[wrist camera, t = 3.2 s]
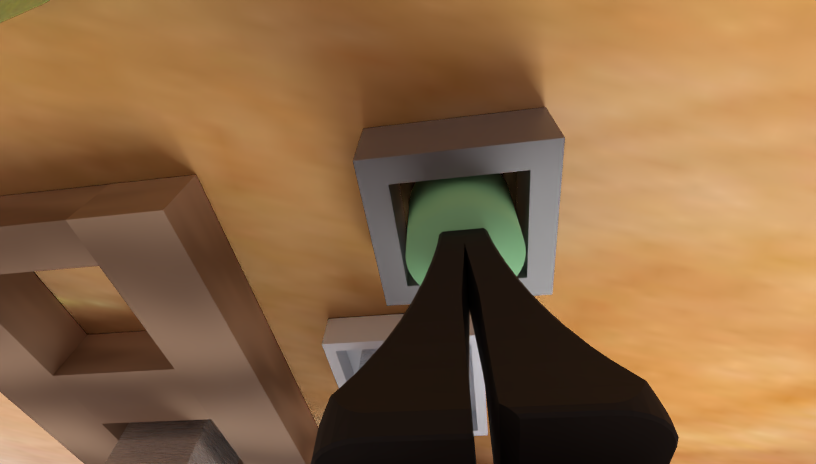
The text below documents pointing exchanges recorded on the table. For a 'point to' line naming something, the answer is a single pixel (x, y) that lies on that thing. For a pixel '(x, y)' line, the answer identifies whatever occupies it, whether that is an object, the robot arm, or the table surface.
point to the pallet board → (159, 314)
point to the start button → (462, 218)
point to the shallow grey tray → (370, 333)
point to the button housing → (460, 157)
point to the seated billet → (173, 444)
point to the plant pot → (17, 7)
